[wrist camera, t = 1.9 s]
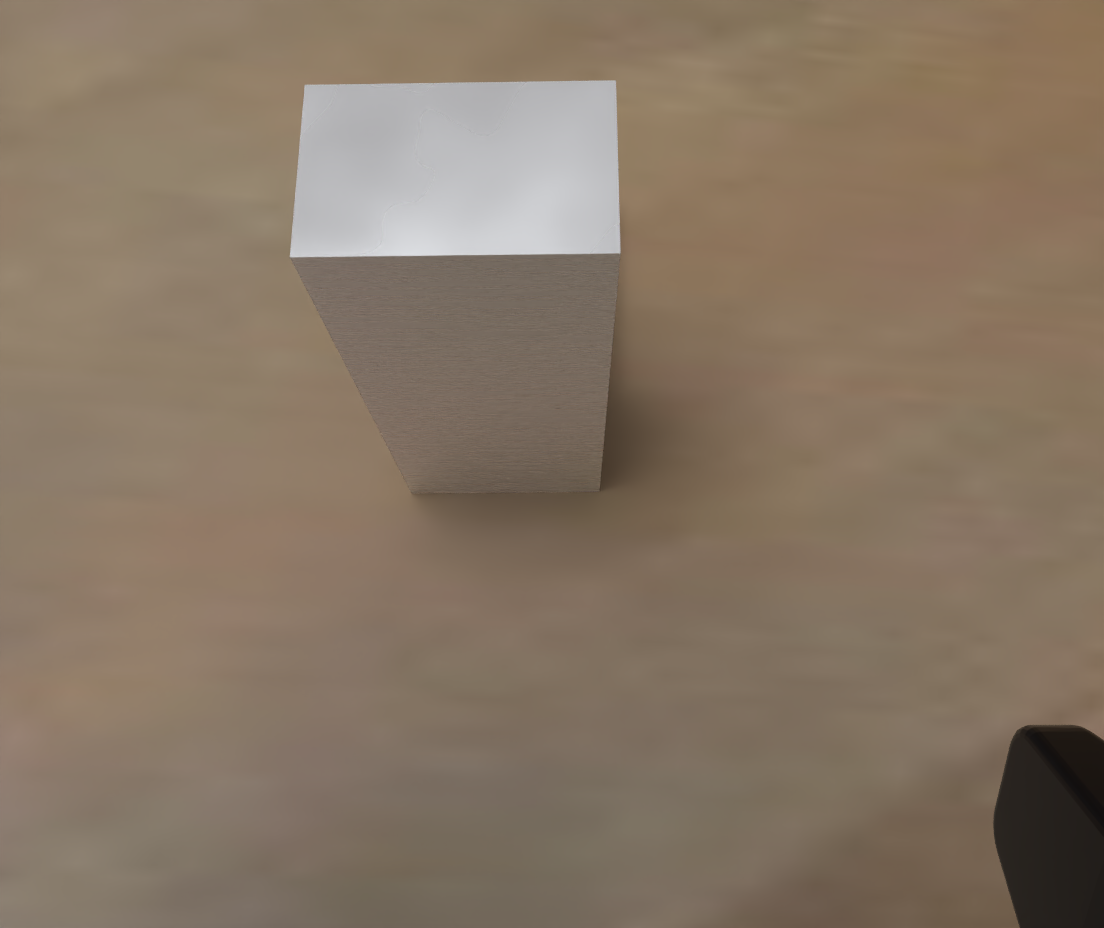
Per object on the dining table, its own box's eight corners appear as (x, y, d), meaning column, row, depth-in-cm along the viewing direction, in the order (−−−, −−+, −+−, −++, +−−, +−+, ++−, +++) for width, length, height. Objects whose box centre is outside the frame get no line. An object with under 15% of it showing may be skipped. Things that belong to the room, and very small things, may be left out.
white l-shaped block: (599, 492, 22) (620, 254, 12) (411, 493, 22) (290, 256, 13) (594, 204, 24) (609, -184, 15) (423, 206, 24) (327, -179, 15)
